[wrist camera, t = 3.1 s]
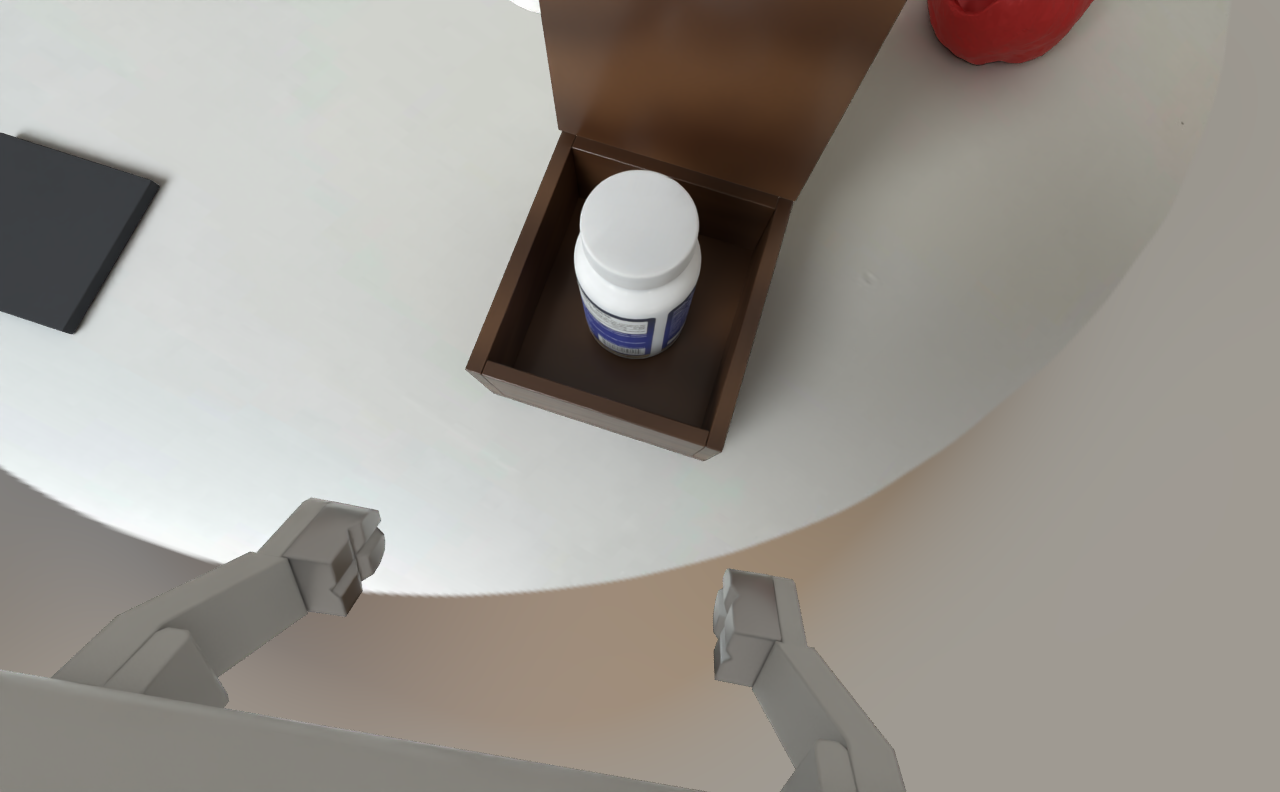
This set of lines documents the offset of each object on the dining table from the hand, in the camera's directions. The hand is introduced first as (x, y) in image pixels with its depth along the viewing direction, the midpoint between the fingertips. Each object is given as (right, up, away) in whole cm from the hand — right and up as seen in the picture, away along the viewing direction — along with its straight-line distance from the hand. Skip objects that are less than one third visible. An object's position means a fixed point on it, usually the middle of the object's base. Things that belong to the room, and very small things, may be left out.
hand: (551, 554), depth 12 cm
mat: (-33, +13, +18) cm, 40 cm away
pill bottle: (+2, +8, +18) cm, 20 cm away
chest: (+2, +8, +18) cm, 20 cm away
